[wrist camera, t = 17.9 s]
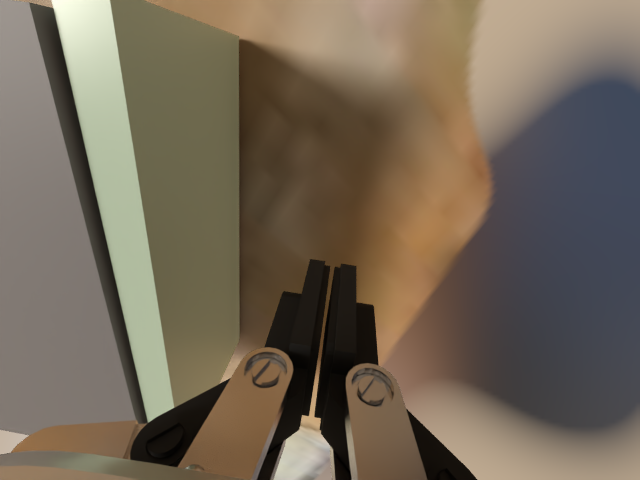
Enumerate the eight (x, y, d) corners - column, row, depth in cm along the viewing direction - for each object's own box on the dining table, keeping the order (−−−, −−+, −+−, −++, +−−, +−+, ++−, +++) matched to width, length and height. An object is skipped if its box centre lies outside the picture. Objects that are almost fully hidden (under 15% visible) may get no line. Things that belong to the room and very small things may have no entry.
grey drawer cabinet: (206, 45, 15) (28, 2, 7) (218, 327, 23) (145, 457, 15) (-69, 8, 15) (-529, -71, 7) (40, 297, 24) (-121, 406, 16)
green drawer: (238, 36, 14) (108, -14, 7) (239, 339, 23) (182, 463, 16) (-44, -1, 15) (-452, -84, 7) (62, 308, 24) (-75, 413, 16)
